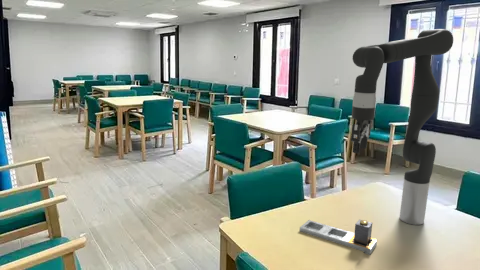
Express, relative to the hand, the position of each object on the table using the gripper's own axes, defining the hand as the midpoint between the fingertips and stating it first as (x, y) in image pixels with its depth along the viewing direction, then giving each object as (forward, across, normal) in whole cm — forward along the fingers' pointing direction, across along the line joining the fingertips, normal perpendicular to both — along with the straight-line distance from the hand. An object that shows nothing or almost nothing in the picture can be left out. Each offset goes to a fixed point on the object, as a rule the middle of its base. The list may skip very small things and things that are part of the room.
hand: (359, 150), depth 130 cm
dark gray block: (+31, -8, -6) cm, 33 cm away
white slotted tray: (+32, -8, +3) cm, 33 cm away
